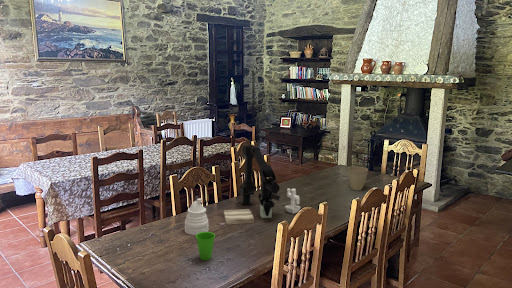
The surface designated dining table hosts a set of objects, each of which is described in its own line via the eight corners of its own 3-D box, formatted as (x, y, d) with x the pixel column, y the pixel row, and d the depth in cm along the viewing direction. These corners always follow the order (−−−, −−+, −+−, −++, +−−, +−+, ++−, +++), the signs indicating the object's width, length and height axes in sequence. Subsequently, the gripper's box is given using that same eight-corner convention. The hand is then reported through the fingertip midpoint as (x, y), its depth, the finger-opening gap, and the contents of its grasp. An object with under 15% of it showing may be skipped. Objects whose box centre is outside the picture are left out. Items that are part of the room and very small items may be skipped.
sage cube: (259, 214, 238) (260, 205, 237) (269, 214, 239) (269, 204, 238) (261, 218, 232) (262, 208, 231) (271, 217, 233) (271, 208, 232)
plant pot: (369, 188, 297) (370, 168, 294) (363, 193, 284) (364, 172, 282) (350, 185, 305) (351, 165, 302) (343, 189, 292) (344, 169, 289)
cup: (196, 253, 185) (196, 231, 183) (215, 253, 186) (215, 231, 184) (195, 262, 176) (194, 239, 174) (215, 262, 177) (215, 239, 175)
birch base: (223, 214, 237) (223, 210, 236) (249, 213, 240) (249, 209, 239) (226, 224, 221) (226, 220, 221) (254, 222, 224) (254, 218, 224)
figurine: (294, 215, 237) (295, 192, 234) (283, 211, 244) (283, 188, 241) (302, 212, 242) (303, 189, 239) (290, 208, 248) (291, 186, 246)
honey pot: (212, 227, 216) (212, 196, 213) (201, 236, 204) (201, 203, 201) (191, 224, 220) (191, 193, 217) (180, 232, 208) (179, 200, 205)
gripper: (283, 192, 225) (282, 218, 228) (275, 183, 243) (275, 207, 246) (264, 193, 223) (263, 219, 226) (258, 184, 241) (257, 208, 244)
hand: (265, 213), depth 235 cm, fingers open, 8 cm apart
